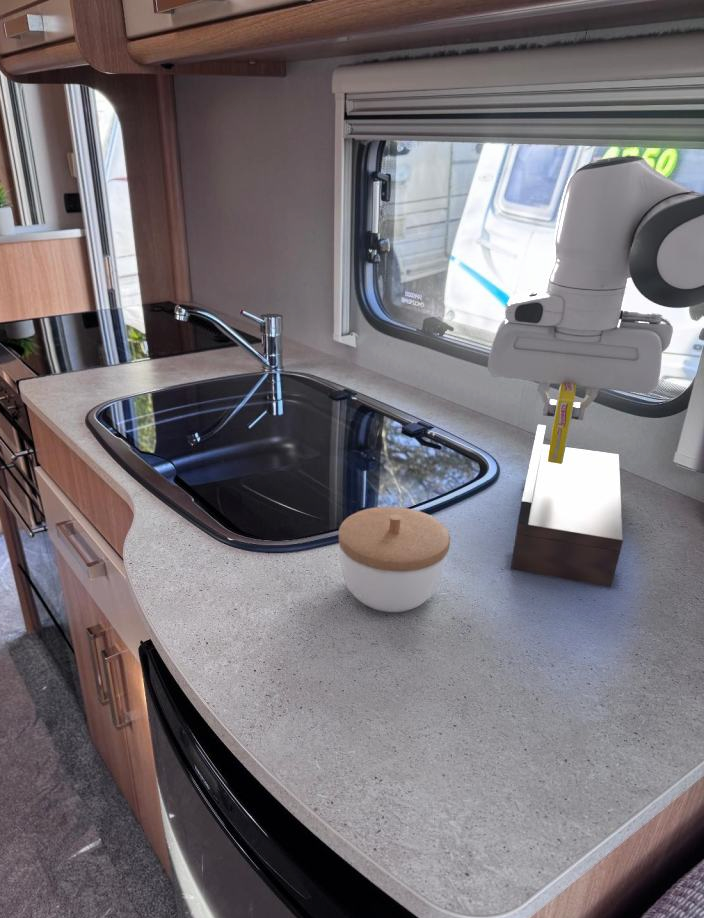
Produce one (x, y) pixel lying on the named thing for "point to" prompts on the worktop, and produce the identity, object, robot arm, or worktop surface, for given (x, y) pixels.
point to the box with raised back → (570, 516)
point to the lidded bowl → (392, 557)
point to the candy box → (561, 422)
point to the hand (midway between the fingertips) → (562, 416)
